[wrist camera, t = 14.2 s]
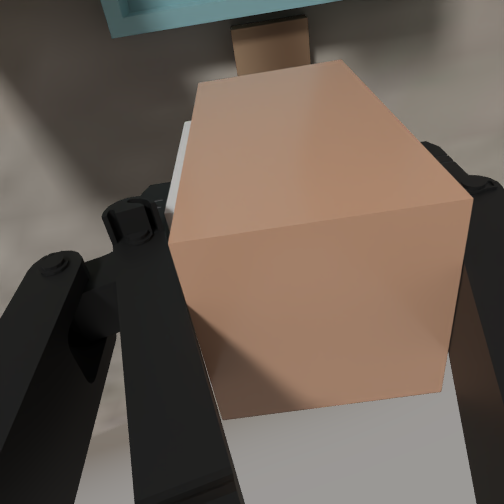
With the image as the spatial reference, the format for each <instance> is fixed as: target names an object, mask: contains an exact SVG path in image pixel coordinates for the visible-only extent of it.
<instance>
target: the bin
mask: <svg viewBox="0 0 504 504" xmlns="http://www.w3.org/2000/svg"><path fill="white" fill-rule="evenodd" d="M100 1H101V4H102V7H103V11H104V14H105V17H106V20H107V24H108V27H109V30H110V34H111V37H112V39H113V38H119V37H125V36H131V35H137V34H143V33H149V32H155V31H161V30H167V29H173V28H179V27H185V26H191V25H197V24H203V23H209V22H215V21H221V20H227V19H233V18H239V17H245V16H251V15H257V14H263V13H269V12H275V11H281V10H287V9H293V8H299V7H305V6H311V5H317V4H323V3H329V2H335V1H341V0H100Z"/></svg>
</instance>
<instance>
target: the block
mask: <svg viewBox="0 0 504 504" xmlns="http://www.w3.org/2000/svg"><path fill="white" fill-rule="evenodd" d="M473 199H474V198H473V197H472V196H471V195H470V194H469V193H468V192H467V191H466V190H465V189H464V188H463V187H462V186H461V185H460V184H459V183H458V182H457V181H456V179H455V178H454V177H453V176H452V175H451V174H450V173H449V172H448V171H447V170H446V169H445V168H444V167H443V166H442V165H441V164H440V163H439V162H438V161H437V160H436V158H435V157H434V156H433V155H432V154H431V153H430V152H429V151H428V150H427V149H426V148H425V147H424V146H423V145H422V144H421V143H420V142H419V141H418V140H417V139H416V137H415V136H414V135H413V134H412V133H411V132H410V131H409V130H408V129H407V128H406V127H405V126H404V125H403V124H402V123H401V122H400V121H399V120H398V119H397V118H396V116H395V115H394V114H393V113H392V112H391V111H390V110H389V109H388V108H387V107H386V106H385V105H384V104H383V103H382V102H381V101H380V100H379V99H378V98H377V97H376V95H375V94H374V93H373V92H372V91H371V90H370V89H369V88H368V87H367V86H366V85H365V84H364V83H363V82H362V81H361V80H360V79H359V78H358V77H357V76H356V74H355V73H354V72H353V71H352V70H351V69H350V68H349V67H348V66H347V65H346V64H345V63H344V62H343V61H342V60H335V61H329V62H322V63H316V64H310V65H304V66H298V67H292V68H286V69H280V70H274V71H268V72H262V73H255V74H249V75H243V76H237V77H231V78H225V79H219V80H213V81H207V82H201V83H198V88H197V93H196V99H195V104H194V109H193V114H192V120H191V125H190V130H189V135H188V141H187V146H186V151H185V157H184V162H183V167H182V172H181V178H180V183H179V188H178V193H177V199H176V204H175V209H174V215H173V220H172V225H171V230H170V236H169V241H168V246H169V249H170V252H171V255H172V258H173V262H174V265H175V268H176V271H177V275H178V278H179V281H180V284H181V287H182V291H183V294H184V297H185V300H186V303H187V307H188V310H189V313H190V316H191V320H192V323H193V326H194V329H195V332H196V336H197V339H198V342H199V345H200V348H201V352H202V355H203V358H204V361H205V365H206V368H207V371H208V374H209V377H210V381H211V384H212V387H213V390H214V393H215V397H216V400H217V403H218V406H219V410H220V412H221V416H222V419H223V420H228V419H236V418H244V417H252V416H259V415H266V414H275V413H282V412H290V411H298V410H305V409H313V408H321V407H329V406H336V405H344V404H352V403H360V402H367V401H375V400H383V399H390V398H397V397H405V396H413V395H421V394H429V393H436V392H441V390H442V383H443V378H444V372H445V366H446V360H447V354H448V348H449V342H450V336H451V330H452V324H453V318H454V312H455V306H456V300H457V294H458V288H459V282H460V276H461V271H462V265H463V259H464V253H465V247H466V241H467V235H468V229H469V223H470V217H471V211H472V205H473Z"/></svg>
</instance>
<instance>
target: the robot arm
mask: <svg viewBox="0 0 504 504" xmlns="http://www.w3.org/2000/svg"><path fill="white" fill-rule="evenodd" d="M190 125H191V121H186V122H185V123H184V127H183V132H182V136H181V141H180V145H179V150H178V154H177V159H176V163H175V168H174V172H173V177H172V181H171V182H168V183H161V184H155V185H150V186H149V187H148V188H147V189H146V190H145V191H144V192H143V193H142V195H141V196H136V197H130V198H126V199H123V200H120V201H117V202H116V203H114V204H112V205H110V206H109V207H108V208H107V209H106V210H105V211H104V212H103V214H102V220H103V222H104V225H105V227H106V230H107V232H108V235H109V237H110V240H111V242H112V245H113V252H111V253H109V254H107V255H104V256H102V257H99V258H96V259H93V260H90V261H87V262H85V263H84V261H83V258H82V256H81V255H80V254H79V253H78V252H75V251H60V252H56V253H51V254H49V255H48V256H47V255H46V256H44V257H43V258H41V259H40V260H39V261H37V262H36V263H35V264H33V265H32V267H31V268H30V269H29V270H28V271H27V273H26V275H25V277H24V278H23V280H22V282H21V284H20V285H19V287H18V289H17V291H16V292H15V294H14V296H13V298H12V299H11V301H10V303H9V304H8V306H7V308H6V310H5V311H4V313H3V315H2V317H1V318H0V504H74V502H75V497H76V494H77V490H78V486H79V482H80V478H81V474H82V470H83V466H84V463H85V459H86V454H87V451H88V447H89V443H90V439H91V435H92V431H93V428H94V424H95V420H96V416H97V412H98V408H99V404H100V400H101V396H102V392H103V389H104V385H105V381H106V377H107V373H108V369H109V365H110V361H111V357H112V353H113V349H114V346H115V342H116V333H118V332H120V336H121V348H122V360H123V372H124V383H125V395H126V407H127V419H128V431H129V442H130V454H131V466H132V477H133V489H134V501H135V504H245V503H244V499H243V495H242V492H241V489H240V485H239V482H238V479H237V475H236V471H235V468H234V464H233V461H232V457H231V454H230V451H229V447H228V444H227V440H226V437H225V433H224V430H223V426H222V423H221V419H220V416H219V412H218V409H217V405H216V402H215V398H214V395H213V391H212V388H211V385H210V381H209V378H208V374H207V371H206V367H205V364H204V360H203V357H202V353H201V350H200V346H199V343H198V340H197V336H196V333H195V329H194V326H193V323H192V320H191V316H190V313H189V310H188V307H187V303H186V300H185V297H184V294H183V291H182V287H181V284H180V281H179V278H178V275H177V271H176V268H175V265H174V262H173V258H172V255H171V252H170V249H169V246H168V241H169V236H170V230H171V225H172V220H173V215H174V209H175V204H176V199H177V193H178V188H179V183H180V178H181V172H182V167H183V162H184V157H185V151H186V146H187V141H188V135H189V130H190ZM420 143H421V144H422V145H423V146H424V147H425V148H426V149H427V150H428V151H429V152H430V153H431V154H432V155H433V156H434V157H435V158H436V160H437V161H438V162H439V163H440V164H441V165H442V166H443V167H444V168H445V169H446V170H447V171H448V172H449V173H450V174H451V175H452V176H453V177H454V178H455V179H456V181H457V182H458V183H459V184H460V185H461V186H462V187H463V188H464V189H465V190H466V191H467V192H468V193H469V194H470V195H471V196H472V197H473V198H474V199H473V205H472V211H471V217H470V223H469V229H468V235H467V241H466V247H465V253H464V259H463V265H462V271H461V276H460V282H459V288H458V294H457V300H456V306H455V312H454V318H453V324H452V330H451V336H450V342H449V348H448V352H449V358H450V363H451V369H452V374H453V379H454V385H455V390H456V395H457V401H458V406H459V412H460V417H461V422H462V427H463V433H464V438H465V444H466V449H467V455H468V460H469V465H470V470H471V476H472V481H473V487H474V492H475V498H476V503H477V504H504V188H503V187H502V186H501V184H500V183H499V182H497V181H495V180H493V179H491V178H488V177H483V176H477V175H468V174H467V173H466V172H465V171H464V170H463V169H462V168H461V167H460V166H459V165H458V164H457V163H456V162H453V160H452V159H451V158H450V157H449V156H447V154H446V153H445V152H444V151H443V150H442V149H441V148H440V147H439V146H436V145H434V144H431V143H429V142H427V141H425V142H420Z"/></svg>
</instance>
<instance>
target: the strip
mask: <svg viewBox="0 0 504 504" xmlns="http://www.w3.org/2000/svg"><path fill="white" fill-rule="evenodd" d="M231 36H232V42H233V48H234V55H235V61H236V68H237V74H238V76H243V75H249V74H255V73H262V72H268V71H274V70H280V69H286V68H292V67H298V66H304V65H310V64H311V63H310V47H309V32H308V18H307V16H306V15H305V14H303V15H297V16H291V17H285V18H279V19H273V20H267V21H261V22H255V23H249V24H243V25H237V26H231Z"/></svg>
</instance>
